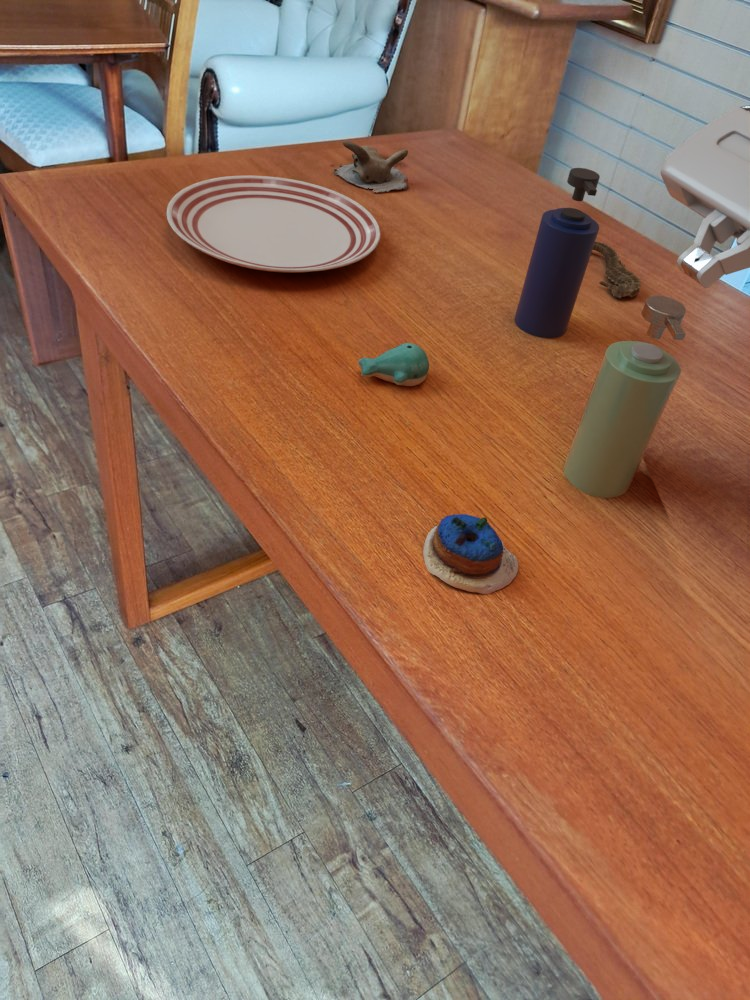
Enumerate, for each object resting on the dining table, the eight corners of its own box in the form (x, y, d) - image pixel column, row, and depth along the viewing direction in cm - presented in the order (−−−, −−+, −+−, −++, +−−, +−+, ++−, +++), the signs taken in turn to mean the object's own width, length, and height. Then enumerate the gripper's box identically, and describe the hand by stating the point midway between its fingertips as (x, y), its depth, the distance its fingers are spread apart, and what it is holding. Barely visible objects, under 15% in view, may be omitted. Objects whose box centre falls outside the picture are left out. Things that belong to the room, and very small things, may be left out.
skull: (415, 195, 123) (424, 155, 120) (352, 191, 117) (360, 150, 114) (382, 173, 130) (390, 135, 126) (321, 169, 124) (327, 129, 120)
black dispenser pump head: (588, 195, 87) (595, 169, 85) (600, 216, 83) (609, 189, 81) (560, 191, 87) (567, 166, 85) (571, 213, 83) (579, 186, 81)
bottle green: (619, 456, 78) (671, 333, 69) (637, 500, 74) (696, 375, 64) (556, 452, 78) (601, 327, 68) (571, 496, 73) (621, 368, 64)
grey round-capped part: (666, 327, 67) (678, 297, 65) (688, 363, 63) (702, 332, 61) (630, 323, 66) (641, 293, 64) (649, 360, 62) (662, 329, 60)
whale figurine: (430, 393, 82) (437, 363, 80) (361, 392, 81) (366, 361, 79) (420, 362, 87) (426, 332, 84) (354, 361, 85) (358, 330, 83)
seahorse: (601, 248, 114) (604, 236, 113) (648, 301, 104) (652, 288, 103) (565, 251, 113) (568, 239, 112) (609, 304, 103) (613, 291, 102)
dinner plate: (392, 218, 114) (396, 196, 111) (356, 309, 94) (359, 283, 91) (208, 183, 115) (208, 160, 113) (133, 265, 95) (131, 238, 93)
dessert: (402, 558, 64) (439, 494, 62) (426, 552, 70) (460, 494, 69) (486, 613, 61) (526, 548, 60) (503, 602, 67) (539, 543, 66)
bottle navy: (560, 313, 99) (594, 203, 89) (571, 340, 94) (608, 227, 85) (510, 308, 98) (539, 197, 89) (519, 336, 94) (551, 221, 84)
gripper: (738, 66, 63) (599, 193, 66) (961, 163, 49) (774, 317, 52) (755, 125, 67) (625, 241, 70) (963, 228, 54) (791, 366, 57)
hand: (690, 275), depth 61 cm, fingers closed
